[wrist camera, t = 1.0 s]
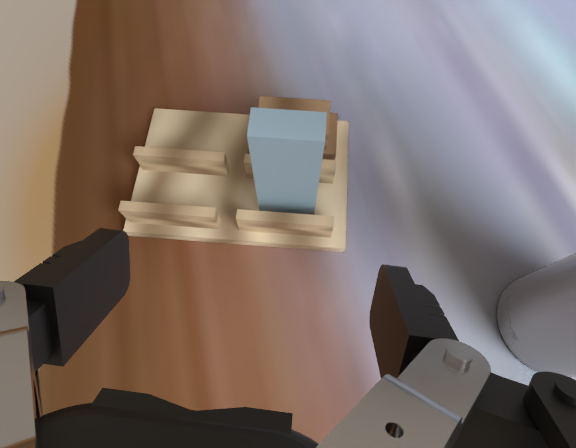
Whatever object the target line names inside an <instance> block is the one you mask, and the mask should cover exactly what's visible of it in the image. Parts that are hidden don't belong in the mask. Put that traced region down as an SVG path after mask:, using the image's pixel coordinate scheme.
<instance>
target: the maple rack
mask: <svg viewBox="0 0 576 448" xmlns="http://www.w3.org/2000/svg"><path fill="white" fill-rule="evenodd" d="M249 118H250V115H248V114H233V113H218V112H203V111H187V110H172V109H157V108H155V109H154V112H153V116H152V120H151V124H150V128H149V132H148V136H147V140H146V144H145V147H139V146H135V149H134V153H133V156H134V157H135V159H136V160H137V161H138V163H139V164H140V167H139V171H138V175H137V179H136V183H135V186H134V190H133V194H132V198H131V201H120V205H119V209H118V211H119V212H120V213H121V214H122V215H123V216H124V217H125V218H126V222H125V225H124V229H123V231H125V232H126V233H127V235H128V236H138V237H152V238H165V239H178V240H191V241H204V242H217V243H230V244H243V245H256V246H269V247H282V248H295V249H308V250H322V251H335V252H344V251H345V245H346V208H347V171H348V134H349V121H339V120H337V144H336V157H335V160H327V159H322V166H321V172H320V179H319V185H318V192H317V198H316V205H315V211H314V215H310V214H296V213H283V212H269V211H259V205H258V199H257V193H256V187H255V181H254V176H253V170H252V164H251V158H250V154H248V152H247V143H248V140H247V132H248V125H249Z"/></svg>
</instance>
